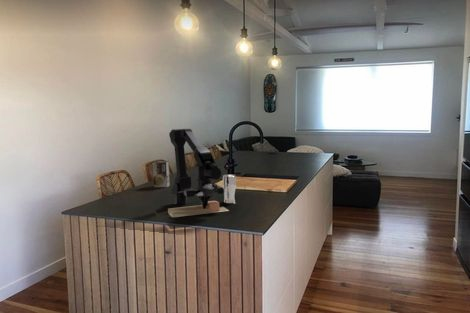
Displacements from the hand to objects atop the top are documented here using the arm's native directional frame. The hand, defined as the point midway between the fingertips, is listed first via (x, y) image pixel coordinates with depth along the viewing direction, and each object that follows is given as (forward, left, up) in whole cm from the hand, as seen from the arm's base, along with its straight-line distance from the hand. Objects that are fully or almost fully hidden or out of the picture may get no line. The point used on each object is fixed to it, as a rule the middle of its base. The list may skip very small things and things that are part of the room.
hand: (204, 208), depth 187 cm
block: (0, +4, -1) cm, 4 cm away
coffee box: (-74, -5, -2) cm, 74 cm away
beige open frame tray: (0, -3, -2) cm, 3 cm away
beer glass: (-13, +18, -2) cm, 23 cm away
